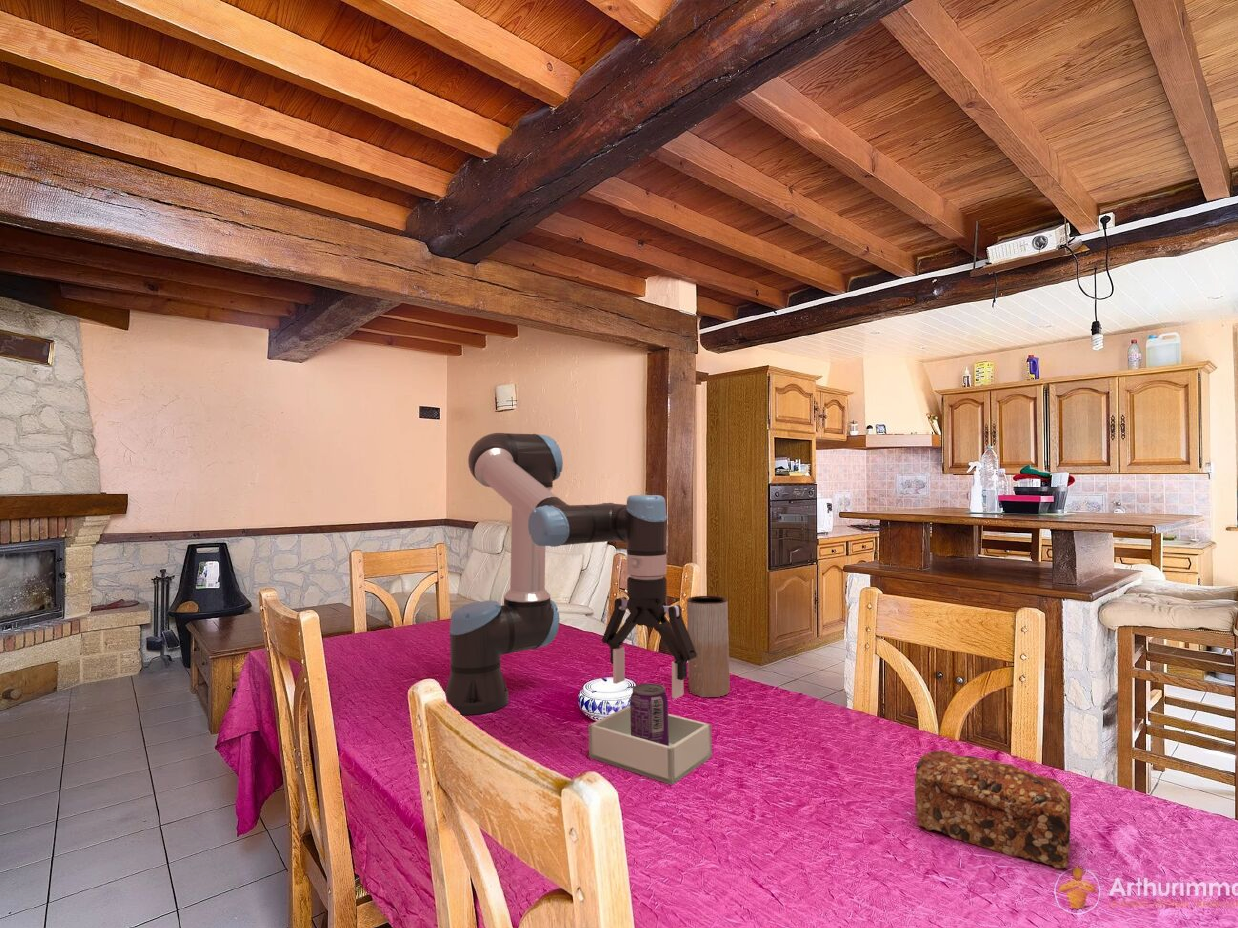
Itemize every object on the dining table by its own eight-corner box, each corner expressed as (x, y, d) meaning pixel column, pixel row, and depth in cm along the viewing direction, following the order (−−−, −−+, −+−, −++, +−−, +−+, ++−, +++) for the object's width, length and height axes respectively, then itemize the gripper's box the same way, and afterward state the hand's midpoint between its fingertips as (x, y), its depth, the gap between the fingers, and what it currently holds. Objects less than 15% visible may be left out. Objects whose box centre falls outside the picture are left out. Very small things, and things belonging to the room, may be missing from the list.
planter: (711, 701, 146) (709, 604, 147) (680, 691, 153) (678, 599, 154) (738, 691, 153) (735, 598, 153) (707, 682, 160) (704, 594, 161)
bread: (913, 830, 91) (911, 760, 91) (929, 800, 99) (927, 737, 99) (1071, 877, 79) (1068, 797, 80) (1074, 839, 88) (1071, 767, 88)
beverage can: (672, 747, 119) (671, 684, 119) (663, 763, 112) (662, 695, 112) (637, 743, 121) (636, 680, 121) (626, 758, 114) (624, 692, 115)
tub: (589, 757, 117) (588, 725, 117) (632, 734, 127) (631, 704, 128) (672, 784, 105) (671, 749, 106) (711, 756, 116) (711, 724, 116)
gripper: (584, 572, 122) (584, 680, 122) (693, 585, 107) (694, 709, 107) (608, 568, 128) (608, 671, 128) (714, 579, 113) (715, 697, 113)
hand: (647, 688), depth 117 cm, fingers open, 13 cm apart
